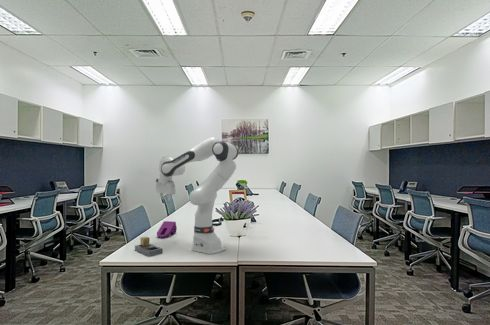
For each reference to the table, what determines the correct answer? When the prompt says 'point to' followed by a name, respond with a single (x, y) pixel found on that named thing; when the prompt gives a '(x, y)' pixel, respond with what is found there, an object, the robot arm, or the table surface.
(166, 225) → the mounting bracket
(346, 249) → the table surface
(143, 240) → the bronze block
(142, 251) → the gray slotted block
